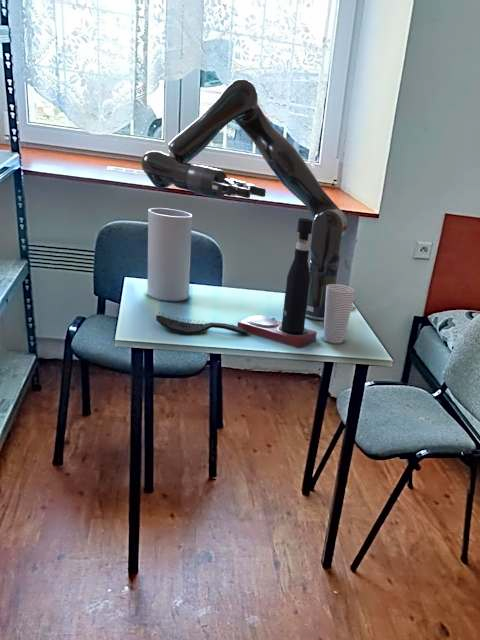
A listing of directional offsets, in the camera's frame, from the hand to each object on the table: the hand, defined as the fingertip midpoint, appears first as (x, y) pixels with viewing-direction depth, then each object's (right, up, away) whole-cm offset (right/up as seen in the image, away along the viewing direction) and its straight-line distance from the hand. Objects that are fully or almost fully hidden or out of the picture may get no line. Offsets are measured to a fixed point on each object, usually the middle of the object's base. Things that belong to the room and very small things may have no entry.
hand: (257, 193), depth 181 cm
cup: (+20, -38, +13) cm, 45 cm away
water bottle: (+9, -36, +7) cm, 38 cm away
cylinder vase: (-32, -22, +26) cm, 46 cm away
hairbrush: (-16, -38, +2) cm, 41 cm away
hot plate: (+4, -37, +10) cm, 38 cm away
